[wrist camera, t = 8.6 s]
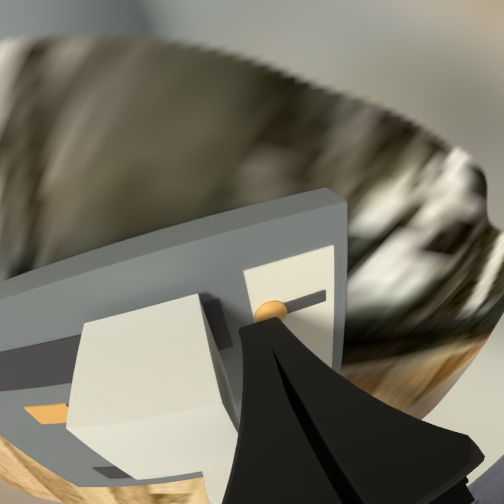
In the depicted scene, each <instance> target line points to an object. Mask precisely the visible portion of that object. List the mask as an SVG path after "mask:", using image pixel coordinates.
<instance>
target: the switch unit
mask: <svg viewBox="0 0 504 504" xmlns="http://www.w3.org/2000/svg"><path fill="white" fill-rule="evenodd" d="M346 286H347V201H346V200H344V199H343V198H341V197H340V196H338V195H337V194H335V193H334V192H332V191H331V190H329V189H328V188H322V189H317V190H313V191H308V192H304V193H300V194H295V195H291V196H287V197H283V198H278V199H274V200H270V201H266V202H262V203H258V204H254V205H250V206H246V207H242V208H238V209H234V210H231V211H227V212H223V213H219V214H215V215H212V216H208V217H204V218H200V219H197V220H193V221H190V222H186V223H182V224H179V225H175V226H172V227H168V228H165V229H161V230H158V231H154V232H151V233H147V234H144V235H141V236H137V237H134V238H131V239H127V240H124V241H121V242H118V243H114V244H111V245H108V246H105V247H102V248H98V249H95V250H92V251H89V252H86V253H83V254H80V255H77V256H74V257H71V258H68V259H65V260H62V261H59V262H56V263H53V264H50V265H47V266H44V267H41V268H38V269H35V270H32V271H30V272H27V273H24V274H21V275H18V276H16V277H13V278H10V279H7V280H5V281H2V282H0V435H1V436H3V437H4V438H5V439H6V440H8V441H9V442H10V443H12V444H13V445H14V446H16V447H17V448H18V449H20V450H21V451H22V452H24V453H25V454H26V455H28V456H29V457H31V458H32V459H34V460H35V461H37V462H38V463H40V464H41V465H43V466H44V467H46V468H47V469H49V470H51V471H52V472H54V473H55V474H57V475H59V476H60V477H62V478H64V479H66V480H67V481H69V482H71V483H73V484H74V485H76V486H78V487H119V486H137V485H148V484H158V483H167V482H174V481H181V480H188V479H194V478H199V477H203V473H202V471H200V472H194V473H188V474H182V475H176V476H169V477H161V478H152V479H142V480H137V479H135V478H133V477H132V476H130V475H129V474H127V473H125V472H124V471H122V470H121V469H119V468H118V467H116V466H115V465H113V464H112V463H110V462H109V461H108V460H106V459H105V458H103V457H102V456H101V455H99V454H98V453H96V452H95V451H94V450H92V449H91V448H90V447H88V446H87V445H86V444H85V443H83V442H82V441H81V440H80V439H78V438H77V437H76V436H75V435H73V434H72V433H71V432H70V431H69V430H67V429H66V424H67V415H68V407H69V400H70V393H71V387H72V381H73V375H74V369H75V364H76V359H77V354H78V349H79V344H80V340H81V335H82V331H83V327H84V323H87V322H91V321H95V320H99V319H103V318H107V317H111V316H115V315H119V314H123V313H127V312H130V311H134V310H138V309H142V308H146V307H149V306H153V305H157V304H161V303H164V302H168V301H172V300H175V299H179V298H183V297H186V296H190V295H194V294H197V293H198V295H199V298H200V301H201V304H202V307H203V310H204V313H205V315H206V318H207V321H208V324H209V327H210V329H211V332H212V335H213V338H214V340H215V343H216V346H217V348H218V351H219V354H220V356H221V359H222V362H223V364H224V367H225V369H226V373H227V376H228V380H229V384H230V387H231V391H232V395H233V398H234V402H235V405H236V409H237V412H238V415H239V419H240V416H241V405H242V392H243V356H242V345H241V339H240V335H239V332H238V330H239V329H240V328H241V327H243V326H247V325H250V324H253V323H257V322H260V321H263V320H267V319H270V318H273V317H278V318H280V320H281V321H282V322H283V323H284V324H285V326H286V327H287V328H288V329H289V330H290V331H291V332H292V333H293V334H294V335H295V336H296V337H297V338H298V339H299V340H300V341H301V342H302V343H303V344H304V345H305V346H306V347H307V348H308V349H309V350H310V351H312V352H313V353H314V354H315V355H316V356H317V357H319V358H320V359H321V360H322V361H323V362H324V363H326V364H327V365H328V366H329V367H331V368H332V369H333V370H334V371H336V372H337V373H338V374H340V372H341V362H342V351H343V339H344V325H345V308H346Z"/></svg>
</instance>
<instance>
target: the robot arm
mask: <svg viewBox="0 0 504 504" xmlns="http://www.w3.org/2000/svg"><path fill="white" fill-rule="evenodd" d="M238 332H239V335H240V339H241V345H242V356H243V392H242V405H241V416H240V424H239V431H238V438H237V444H236V449H235V454H234V459H233V464H232V468H231V472H230V476H229V480H228V483H227V487H226V490H225V494H224V497H223V501H222V504H504V455H503V456H502V457H501V458H500V459H499V460H498V461H497V462H495V463H494V464H493V466H491V467H490V468H489V469H488V470H487V471H486V472H484V473H483V474H482V475H481V476H480V477H479V478H477V479H476V480H475V481H474V482H473V483H471V484H470V485H469V486H468V487H467V486H466V484H467V483H468V479H467V477H466V476H467V475H468V474H469V473H471V472H472V471H473V470H474V469H475V468H476V467H478V466H479V465H480V464H481V463H482V462H483V461H484V458H485V456H484V455H483V453H482V452H481V450H480V449H479V447H478V446H477V445H476V444H475V443H474V441H473V440H472V439H471V438H470V437H469V436H468V435H465V434H462V433H458V432H454V431H451V430H448V429H444V428H441V427H438V426H435V425H432V424H430V423H427V422H425V421H422V420H419V419H417V418H415V417H412V416H410V415H408V414H406V413H404V412H402V411H399V410H397V409H395V408H393V407H391V406H389V405H387V404H385V403H383V402H382V401H380V400H378V399H376V398H375V397H373V396H371V395H369V394H368V393H366V392H365V391H363V390H361V389H360V388H358V387H357V386H355V385H354V384H352V383H351V382H349V381H348V380H346V379H345V378H344V377H342V376H341V375H340V374H338V373H337V372H336V371H334V370H333V369H332V368H331V367H329V366H328V365H327V364H326V363H324V362H323V361H322V360H321V359H320V358H319V357H317V356H316V355H315V354H314V353H313V352H312V351H310V350H309V349H308V348H307V347H306V346H305V345H304V344H303V343H302V342H301V341H300V340H299V339H298V338H297V337H296V336H295V335H294V334H293V333H292V332H291V331H290V330H289V329H288V328H287V327H286V326H285V324H284V323H283V322H282V321H281V320H280V318H278V317H273V318H270V319H267V320H263V321H260V322H257V323H253V324H250V325H247V326H243V327H241V328H240V329H239V330H238Z"/></svg>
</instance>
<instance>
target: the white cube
mask: <svg viewBox="0 0 504 504" xmlns="http://www.w3.org/2000/svg"><path fill="white" fill-rule="evenodd" d="M231 468H232V465H228V466H224V467H219V468H215V469H210V470H205V471H202V473H203V477H204V482H205V486H206V490H207V495H208V499H209V503H210V504H222V501H223V497H224V494H225V490H226V487H227V483H228V480H229V476H230V472H231Z"/></svg>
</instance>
